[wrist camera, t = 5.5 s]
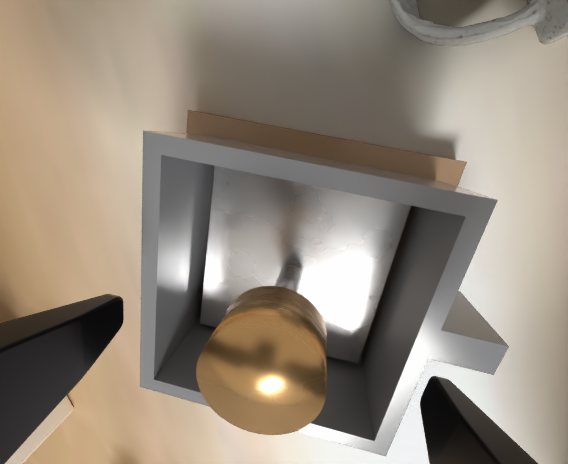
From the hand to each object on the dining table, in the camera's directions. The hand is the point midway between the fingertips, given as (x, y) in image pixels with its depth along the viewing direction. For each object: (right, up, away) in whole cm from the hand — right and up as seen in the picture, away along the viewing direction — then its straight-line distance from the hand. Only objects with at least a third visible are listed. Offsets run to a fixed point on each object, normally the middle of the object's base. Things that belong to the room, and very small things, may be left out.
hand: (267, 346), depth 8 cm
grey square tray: (+1, +2, +7) cm, 7 cm away
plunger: (+1, +2, +5) cm, 6 cm away
